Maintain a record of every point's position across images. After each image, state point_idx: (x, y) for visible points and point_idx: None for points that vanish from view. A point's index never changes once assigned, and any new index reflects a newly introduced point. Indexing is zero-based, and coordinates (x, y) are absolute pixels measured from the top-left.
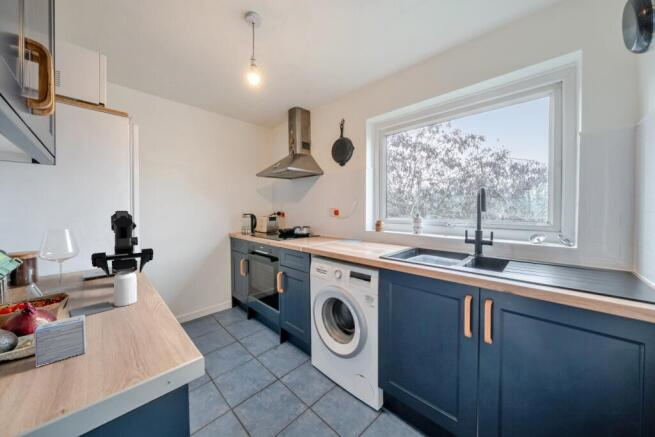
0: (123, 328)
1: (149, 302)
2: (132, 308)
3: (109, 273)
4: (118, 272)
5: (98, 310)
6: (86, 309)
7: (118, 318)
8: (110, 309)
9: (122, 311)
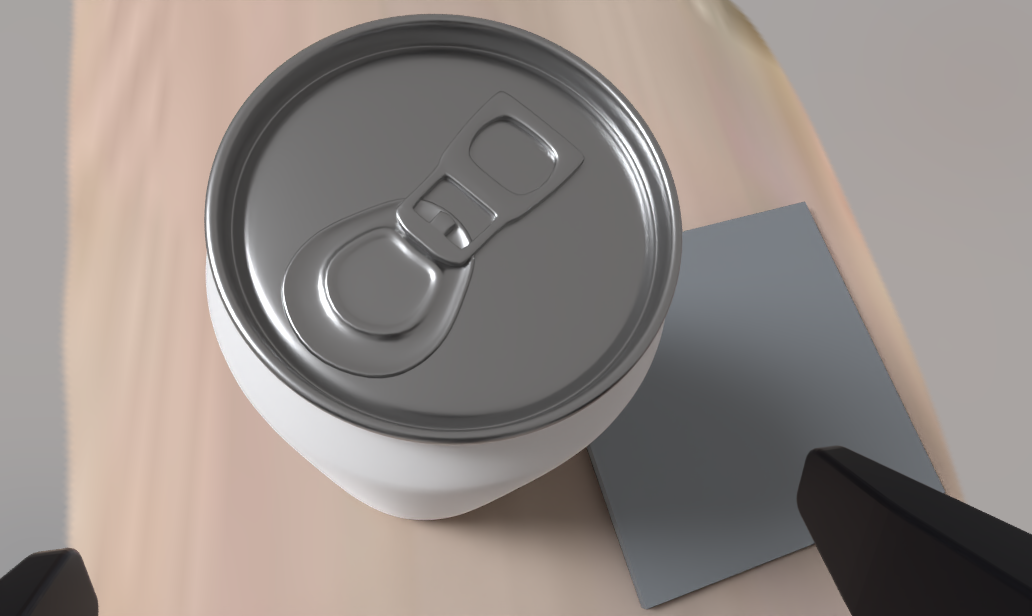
0: None
1: (177, 274)
2: None
3: (859, 487)
4: (634, 339)
5: None
6: (781, 394)
7: (449, 5)
8: None
9: None
